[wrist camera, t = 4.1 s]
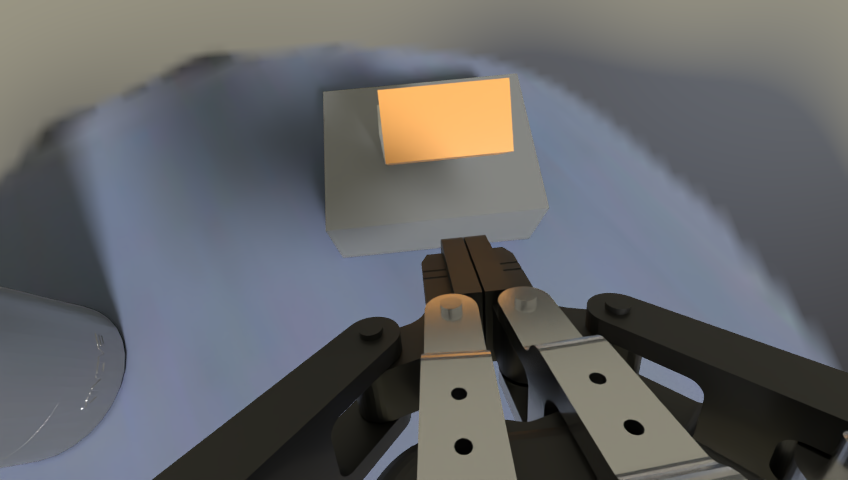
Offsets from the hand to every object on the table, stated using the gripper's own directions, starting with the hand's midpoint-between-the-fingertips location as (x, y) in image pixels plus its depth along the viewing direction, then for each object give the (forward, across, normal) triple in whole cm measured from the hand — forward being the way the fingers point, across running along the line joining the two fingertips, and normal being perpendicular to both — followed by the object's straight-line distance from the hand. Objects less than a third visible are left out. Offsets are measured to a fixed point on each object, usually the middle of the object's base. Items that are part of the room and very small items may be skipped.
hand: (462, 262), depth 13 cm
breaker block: (+16, 0, +2) cm, 17 cm away
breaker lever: (+13, 0, -1) cm, 13 cm away
